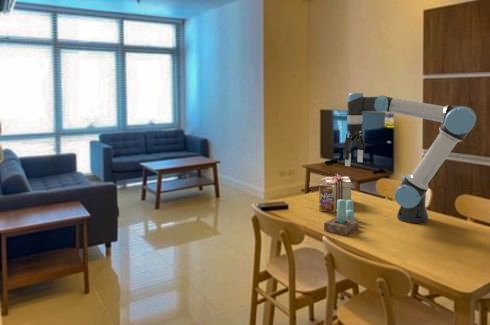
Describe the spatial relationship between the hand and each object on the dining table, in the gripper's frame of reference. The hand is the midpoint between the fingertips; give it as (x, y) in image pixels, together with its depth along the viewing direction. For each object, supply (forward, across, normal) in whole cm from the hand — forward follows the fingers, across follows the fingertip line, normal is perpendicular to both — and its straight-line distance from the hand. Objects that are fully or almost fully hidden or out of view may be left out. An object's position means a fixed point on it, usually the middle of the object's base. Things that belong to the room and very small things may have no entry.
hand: (354, 164), depth 218 cm
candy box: (+30, -4, -18) cm, 35 cm away
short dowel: (+30, +9, +3) cm, 31 cm away
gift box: (+30, -21, -22) cm, 43 cm away
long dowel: (+30, +20, +4) cm, 36 cm away
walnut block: (+30, +20, +4) cm, 36 cm away
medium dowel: (+30, +2, -1) cm, 30 cm away
